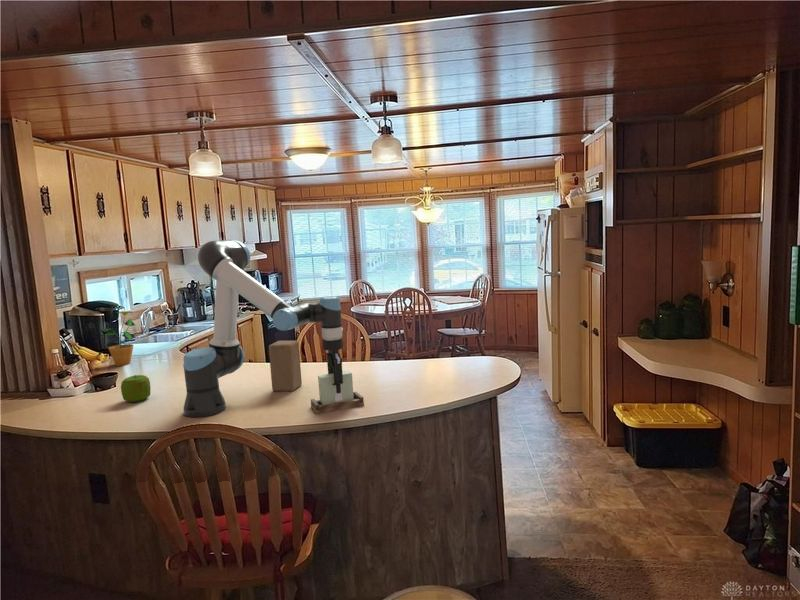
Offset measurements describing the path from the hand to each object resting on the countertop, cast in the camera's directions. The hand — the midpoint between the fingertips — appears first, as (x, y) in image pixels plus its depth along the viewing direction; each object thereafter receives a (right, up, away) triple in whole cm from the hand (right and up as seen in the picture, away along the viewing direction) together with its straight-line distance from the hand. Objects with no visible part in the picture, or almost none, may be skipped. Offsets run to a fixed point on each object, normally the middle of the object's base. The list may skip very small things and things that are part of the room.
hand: (336, 399), depth 199 cm
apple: (-86, -5, +23) cm, 89 cm away
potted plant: (-130, +2, +95) cm, 161 cm away
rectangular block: (0, 0, 0) cm, 0 cm away
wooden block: (-25, -1, +28) cm, 37 cm away
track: (0, -3, 0) cm, 3 cm away
